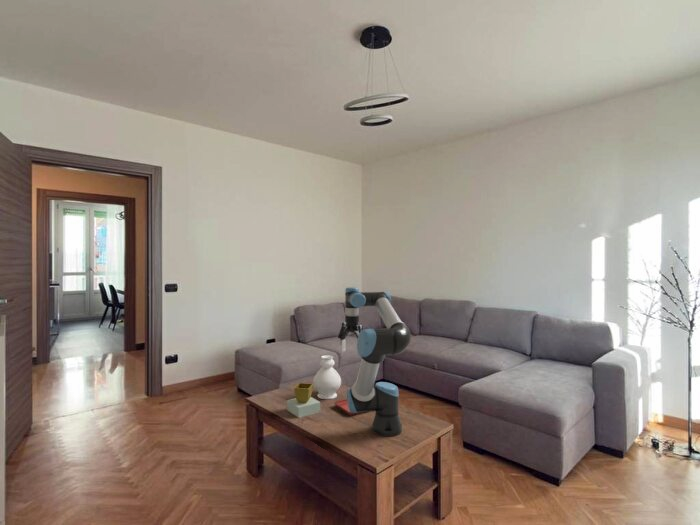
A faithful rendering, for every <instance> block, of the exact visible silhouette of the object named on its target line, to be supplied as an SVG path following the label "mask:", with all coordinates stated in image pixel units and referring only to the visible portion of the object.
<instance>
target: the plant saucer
mask: <svg viewBox="0 0 700 525" xmlns="http://www.w3.org/2000/svg"><path fill="white" fill-rule="evenodd" d="M333 404H334V405H335V406H336V407H337V408H338V409H339V410H341V411H343V412H344V413H346V415H348V416H355V415H359V414H363V413H364V412H361V413H351V412H350V410H349V407H348V402H347V398H345V399H341V400H340V399H339V400H337V401H334V402H333Z"/></svg>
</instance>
